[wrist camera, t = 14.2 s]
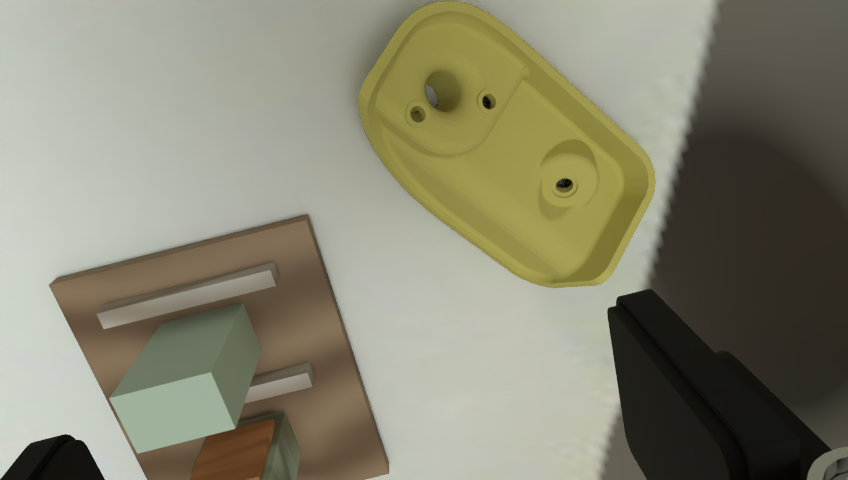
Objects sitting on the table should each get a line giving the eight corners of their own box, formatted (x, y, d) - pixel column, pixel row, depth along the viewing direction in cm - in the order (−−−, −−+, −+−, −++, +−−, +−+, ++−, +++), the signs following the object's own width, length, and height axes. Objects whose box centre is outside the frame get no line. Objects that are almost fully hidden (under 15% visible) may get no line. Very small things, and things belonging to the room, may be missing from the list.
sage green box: (160, 323, 44) (108, 398, 35) (242, 302, 43) (211, 372, 35) (184, 376, 45) (140, 460, 37) (264, 356, 45) (238, 435, 37)
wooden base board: (57, 277, 43) (-34, 353, 34) (308, 214, 43) (288, 272, 33) (175, 515, 51) (129, 632, 41) (388, 463, 51) (391, 568, 41)
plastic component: (666, 171, 41) (598, 299, 39) (595, 178, 48) (534, 289, 46) (441, -36, 35) (345, 106, 33) (394, 7, 41) (313, 127, 39)
